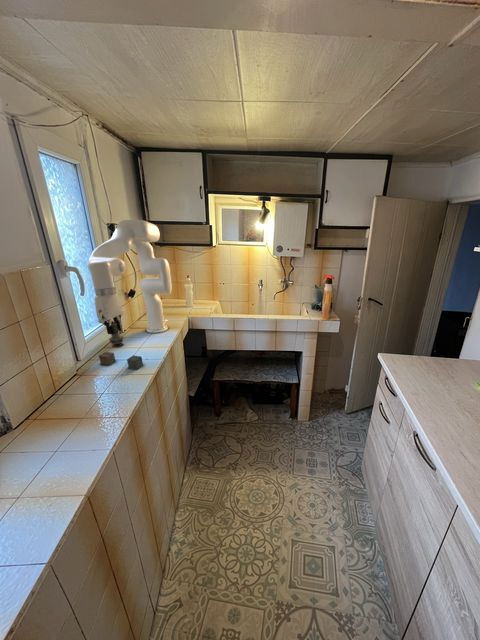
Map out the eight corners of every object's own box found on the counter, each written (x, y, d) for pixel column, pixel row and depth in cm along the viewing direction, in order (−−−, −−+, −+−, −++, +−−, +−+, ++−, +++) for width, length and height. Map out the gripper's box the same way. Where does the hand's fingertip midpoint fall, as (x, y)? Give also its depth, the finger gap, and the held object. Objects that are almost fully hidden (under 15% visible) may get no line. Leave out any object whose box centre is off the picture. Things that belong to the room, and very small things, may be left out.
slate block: (134, 363, 133) (133, 355, 131) (143, 365, 132) (141, 356, 130) (128, 368, 129) (126, 359, 127) (137, 369, 128) (135, 360, 126)
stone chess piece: (119, 348, 124) (113, 323, 119) (107, 347, 125) (101, 322, 120) (127, 343, 130) (122, 318, 125) (116, 342, 131) (110, 317, 126)
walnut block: (107, 360, 136) (105, 351, 134) (115, 361, 135) (113, 352, 133) (100, 364, 132) (98, 355, 130) (109, 365, 131) (106, 356, 129)
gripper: (111, 286, 125) (120, 325, 133) (82, 295, 111) (93, 338, 118) (126, 287, 124) (134, 326, 131) (98, 296, 109) (108, 340, 117)
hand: (114, 331), depth 125 cm, fingers closed on stone chess piece, 3 cm apart
